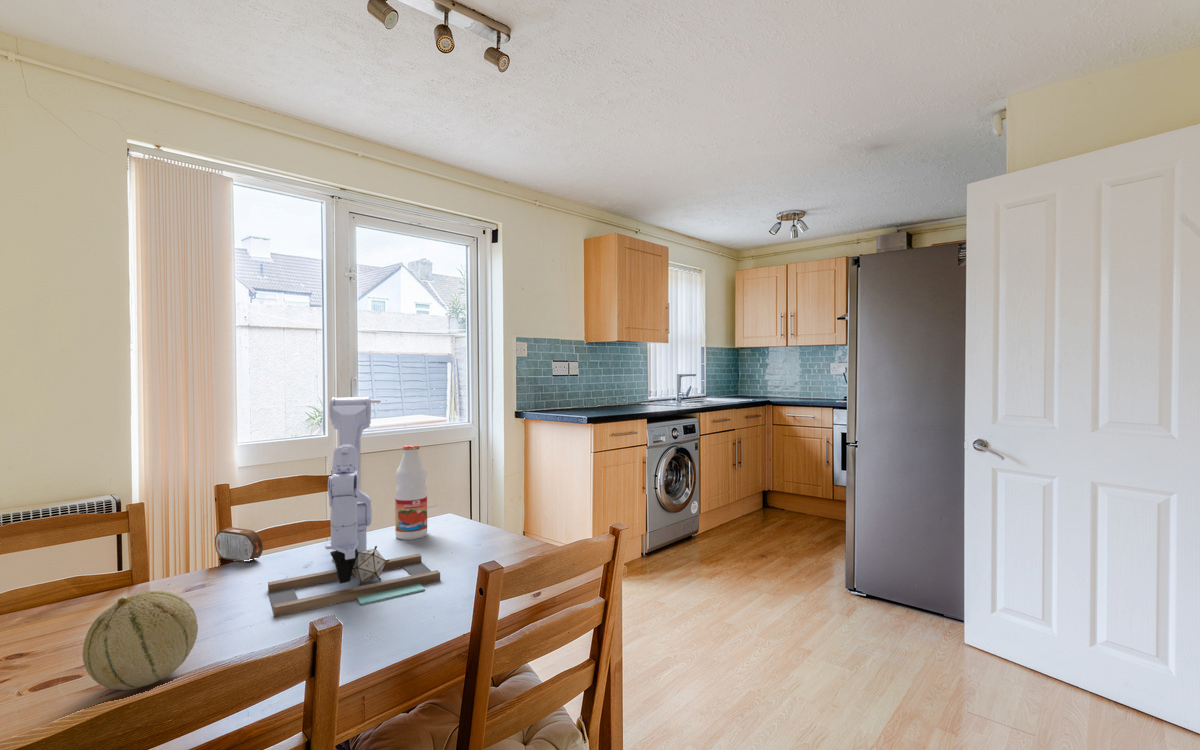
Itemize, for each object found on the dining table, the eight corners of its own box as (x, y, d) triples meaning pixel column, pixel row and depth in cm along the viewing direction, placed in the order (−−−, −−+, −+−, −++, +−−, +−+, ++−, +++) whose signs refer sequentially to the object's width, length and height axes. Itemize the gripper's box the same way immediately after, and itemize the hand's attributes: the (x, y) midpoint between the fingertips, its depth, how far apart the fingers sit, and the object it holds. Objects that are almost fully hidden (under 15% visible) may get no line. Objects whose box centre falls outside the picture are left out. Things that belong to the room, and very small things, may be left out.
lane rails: (268, 590, 131) (268, 582, 131) (419, 561, 150) (419, 553, 150) (274, 617, 117) (274, 607, 117) (440, 580, 136) (440, 572, 136)
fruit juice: (423, 529, 180) (422, 442, 180) (430, 537, 172) (430, 446, 172) (392, 534, 175) (391, 444, 175) (398, 542, 167) (398, 448, 167)
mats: (268, 593, 129) (268, 592, 129) (421, 563, 149) (421, 562, 149) (273, 613, 118) (273, 612, 118) (437, 578, 138) (437, 576, 138)
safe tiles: (339, 571, 143) (339, 569, 143) (396, 560, 151) (396, 559, 151) (360, 605, 122) (360, 603, 122) (424, 590, 130) (424, 588, 130)
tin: (263, 561, 151) (263, 530, 151) (253, 565, 148) (252, 533, 148) (223, 555, 156) (223, 525, 156) (212, 559, 153) (212, 528, 153)
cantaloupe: (219, 665, 98) (218, 580, 97) (128, 716, 83) (127, 616, 83) (155, 654, 101) (154, 572, 101) (58, 700, 87) (57, 605, 87)
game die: (373, 598, 135) (386, 572, 131) (338, 588, 133) (349, 561, 129) (385, 568, 143) (396, 543, 138) (351, 558, 141) (362, 532, 136)
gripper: (320, 520, 136) (321, 576, 136) (330, 533, 124) (331, 595, 124) (352, 515, 140) (352, 570, 140) (364, 528, 128) (365, 588, 128)
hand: (344, 581), depth 132 cm, fingers closed, pressing on game die
